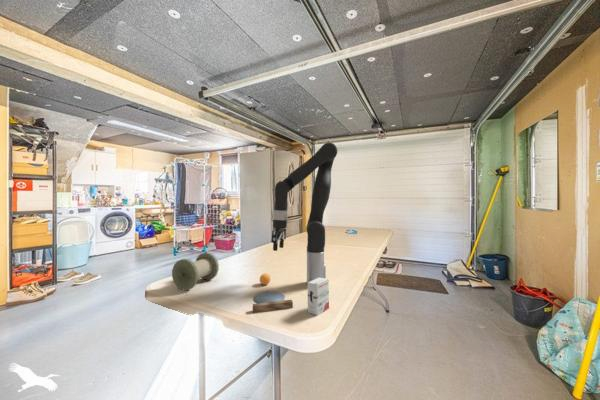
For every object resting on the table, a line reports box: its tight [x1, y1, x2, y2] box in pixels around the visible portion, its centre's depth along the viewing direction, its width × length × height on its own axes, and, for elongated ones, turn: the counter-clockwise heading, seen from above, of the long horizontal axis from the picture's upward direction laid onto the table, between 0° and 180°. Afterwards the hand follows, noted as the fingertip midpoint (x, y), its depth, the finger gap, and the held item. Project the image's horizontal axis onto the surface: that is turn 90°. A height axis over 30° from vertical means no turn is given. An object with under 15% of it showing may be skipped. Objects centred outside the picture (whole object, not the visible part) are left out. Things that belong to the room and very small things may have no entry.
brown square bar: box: [252, 299, 294, 314], centre depth 89 cm, size 16×2×2 cm, turn 105°
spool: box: [171, 252, 220, 291], centre depth 117 cm, size 16×15×15 cm
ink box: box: [307, 277, 330, 316], centre depth 89 cm, size 8×5×12 cm, turn 140°
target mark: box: [253, 290, 286, 304], centre depth 100 cm, size 14×14×1 cm
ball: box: [259, 273, 271, 286], centre depth 116 cm, size 6×6×6 cm
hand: (278, 249), depth 118 cm, fingers open, 8 cm apart
